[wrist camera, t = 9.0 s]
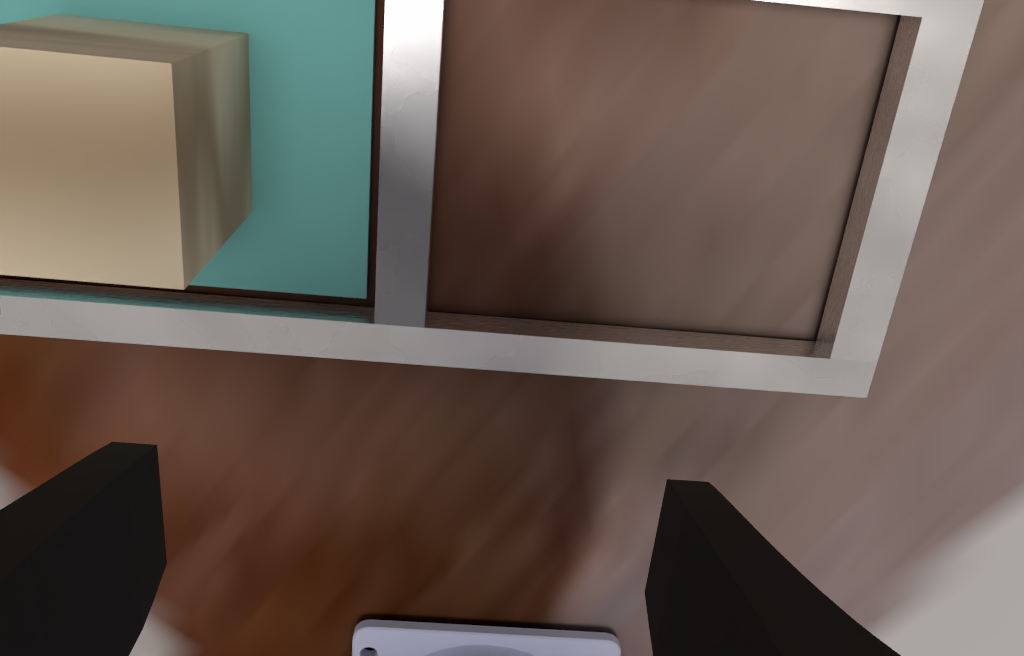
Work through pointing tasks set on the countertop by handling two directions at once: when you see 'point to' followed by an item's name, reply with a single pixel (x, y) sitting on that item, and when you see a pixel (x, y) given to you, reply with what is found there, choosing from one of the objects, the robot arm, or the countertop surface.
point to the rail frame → (410, 199)
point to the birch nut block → (121, 149)
